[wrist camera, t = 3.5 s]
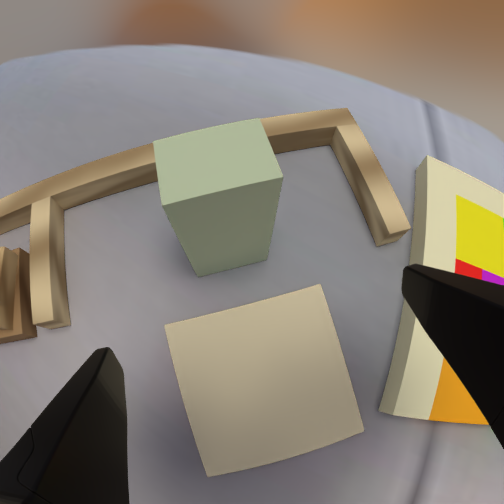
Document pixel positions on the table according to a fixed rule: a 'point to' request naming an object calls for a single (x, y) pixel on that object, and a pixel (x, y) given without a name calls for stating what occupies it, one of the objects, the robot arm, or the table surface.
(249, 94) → the table surface
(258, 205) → the tall green pillar
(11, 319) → the offcut oak
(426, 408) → the puzzle game
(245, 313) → the mat
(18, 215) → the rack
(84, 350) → the table surface
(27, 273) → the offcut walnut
